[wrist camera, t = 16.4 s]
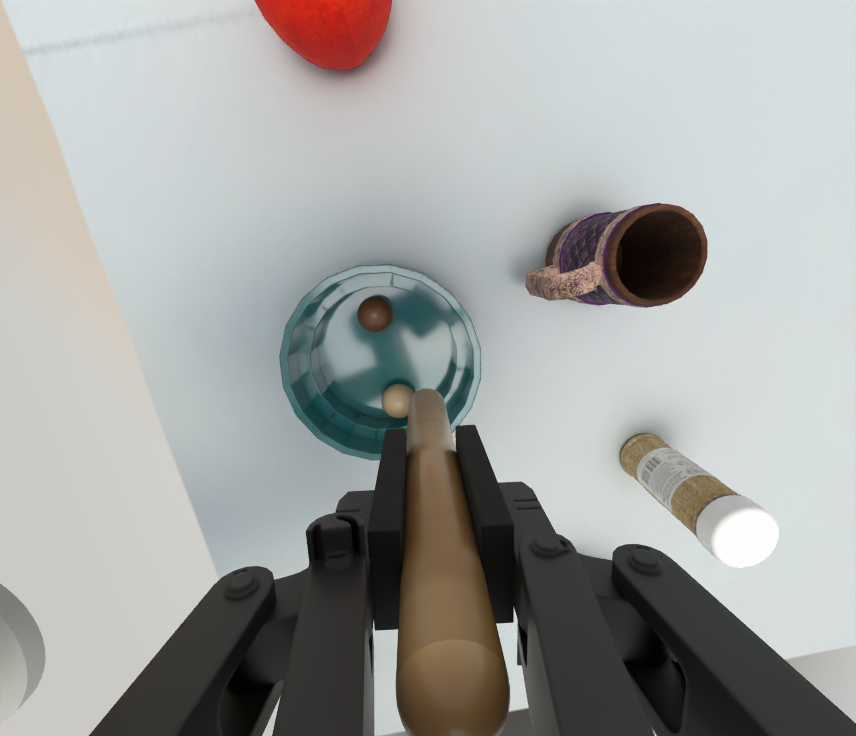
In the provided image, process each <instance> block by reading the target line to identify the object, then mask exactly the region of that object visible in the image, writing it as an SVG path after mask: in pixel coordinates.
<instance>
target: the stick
mask: <svg viewBox="0 0 856 736" xmlns="http://www.w3.org/2000/svg"><path fill="white" fill-rule="evenodd" d="M396 699H397V707H398V711H399V715H400V718H401V721H402V724H403V726H404V728H405V730H406V732H407V734H408V735H409V736H500V734H501V732H502V730H503V728H504V726H505V722H506V719H507V715H508V711H509V704H510V686H509V678H508V673H507V669H506V665H505V660H504V656H503V652H502V647H501V643H500V639H499V634H498V630H497V626H496V621H495V617H494V613H493V609H492V604H491V600H490V596H489V591H488V587H487V583H486V578H485V574H484V570H483V567H482V563H481V558H480V554H479V550H478V545H477V541H476V537H475V532H474V528H473V524H472V519H471V515H470V511H469V506H468V502H467V498H466V493H465V489H464V485H463V480H462V476H461V471H460V467H459V463H458V458H457V454H456V449H455V445H454V440H453V436H452V432H451V427H450V423H449V419H448V415H447V410H446V406H445V402H444V399H443V397H442V396H441V394H440V393H439V392H437V391H436V390H434V389H430V388H424V389H420V390H418V391H416V392H415V393H414V394H413V395H412V397H411V398H410V401H409V409H408V431H407V467H406V491H405V515H404V539H403V563H402V573H401V583H400V605H399V627H398V649H397V671H396Z"/></svg>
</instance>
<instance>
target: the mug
mask: <svg viewBox="0 0 856 736" xmlns="http://www.w3.org/2000/svg"><path fill="white" fill-rule="evenodd" d="M706 260H707V238H706V235H705V232H704V229H703V226H702V225H701V224H700V222H699V221H698V220H697V218H696V217H695V216H694V215H693V214H692V213H690V212H689V211H687V210H685V209H684V208H682V207H680V206H675V205H670V204H661V203H656V204H650V205H643V206H638V207H633V208H631V209H629V210H624V211H619V212H615V213H611V212H606V213H599V214H593V215H589V216H586V217H584V218H582V219H580V220H576V221H574V222H573V223H571V224H569V225H567V226H565V227H564V228H563V229H562V230H561V231H560V232H558V233H557V234H556V235H555V237H554V239H553V240H552V242H551V244H550V246H549V248H548V252H547V256H546V267H545V268H542V269H539V270H536V271H533V272H531V273H528V274H527V277H526V284H525V286H526V288H527V290H528V291H529V293H530V295H533V296H538V297H542V298H545V299H547V300H563V299H570V300H574V301H577V302H579V303H585V304H591V305H605V304H619V305H628V306H634V307H653V306H659V305H663V304H668V303H670V302H672V301H674V300H676V299H679V298H681V297H682V296H683V295H684V294H686V293H687V292H688V291H689V290H690V289H691V288H692V287H693V286H694V285H695V283H696V282H697V280H698V279H699V277H700V276H701V274H702V273H703V269H704V266H705V263H706Z"/></svg>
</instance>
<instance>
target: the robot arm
mask: <svg viewBox="0 0 856 736" xmlns="http://www.w3.org/2000/svg"><path fill="white" fill-rule="evenodd" d="M455 428H456V454H457V458H458V463H459V467H460V471H461V476H462V480H463V485H464V489H465V493H466V498H467V502H468V506H469V511H470V515H471V519H472V524H473V528H474V532H475V537H476V541H477V545H478V550H479V554H480V558H481V563H482V567H483V570H484V574H485V578H486V583H487V587H488V591H489V596H490V600H491V604H492V609H493V613H494V617H495V621H496V623H513V608H514V609H515V612H516V615H517V619H518V643H517V665H522V669H523V675H524V681H525V687H526V693H527V699H528V705H529V711H530V717H531V724H532V730H533V736H655V735H654V733H653V731H652V729H653V730H654V732H655V733H656V735H657V736H856V723H854V722H853V721H852V720H851V719H850V718H849V717H848V716H847V715H845V714H844V713H843V712H842V711H841V710H840V709H839V708H838V707H837V706H835V705H834V704H833V703H832V702H831V701H830V700H829V699H827V698H826V697H825V696H824V695H823V694H822V693H821V692H820V691H819V690H818V689H816V688H815V687H814V686H813V685H812V684H811V683H810V682H809V681H808V680H806V679H805V678H804V677H803V676H802V675H801V674H800V673H799V672H797V671H796V670H795V669H794V668H793V667H792V666H791V665H790V664H789V663H787V662H786V661H785V660H784V659H783V658H782V657H781V656H780V655H778V654H777V653H776V652H775V651H774V650H773V649H772V648H771V647H770V646H768V645H767V644H766V643H765V642H764V641H763V640H762V639H761V638H759V637H758V636H757V635H756V634H755V633H754V632H753V631H752V630H751V629H749V628H748V627H747V626H746V625H745V624H744V623H743V622H742V621H740V620H739V619H738V618H737V617H736V616H735V615H734V614H733V613H732V612H730V611H729V610H728V609H727V608H726V607H725V606H724V605H723V604H721V603H720V602H719V601H718V600H717V599H716V598H715V597H714V596H713V595H711V594H710V593H709V592H708V591H707V590H706V589H705V588H704V587H702V586H701V585H700V584H699V583H698V582H697V581H696V580H695V579H694V578H692V577H691V576H690V575H689V574H688V573H687V572H686V571H685V570H683V569H682V568H681V567H680V566H679V565H678V564H677V563H676V562H674V561H673V560H672V559H671V558H670V557H668V556H667V555H665V554H664V553H662V552H661V551H659V550H656V549H654V548H651V547H648V546H644V545H639V544H626V545H623V546H620V547H617V548H616V550H615V551H614V552H613V558H612V560H607V559H600V558H594V557H590V556H585V555H582V554H580V553H577V551H576V549H575V547H574V546H573V545H572V543H571V542H570V541H569V540H568V539H566V538H565V537H563V536H561V535H559V534H556V532H555V530H554V528H553V527H552V525H551V523H550V521H549V519H548V517H547V516H546V514H545V512H544V510H543V509H542V506H541V504H540V503H539V501H538V499H537V497H536V495H535V493H534V491H533V490H532V489H531V488H530V487H528V486H527V485H526V484H524V483H523V482H505V483H498V482H497V480H496V477H495V474H494V472H493V469H492V467H491V464H490V462H489V459H488V457H487V454H486V452H485V449H484V446H483V444H482V441H481V439H480V436H479V434H478V431H477V429H476V426H475V425H462V426H455ZM406 467H407V445H406V428H399V429H386V431H385V437H384V442H383V448H382V453H381V459H380V464H379V470H378V475H377V481H376V486H375V490H371V491H352V492H348V493H347V494H346V495H344V496H343V497H342V498H341V499H340V500H339V502H338V505H337V508H336V513H333V514H328V515H325V516H323V517H320V518H318V519H316V520H315V521H314V522H313V523H311V524H310V525H309V527H308V529H307V530H306V537H307V546H308V554H309V567H308V568H307V569H305V570H303V571H301V572H299V573H296V574H293V575H291V576H287V577H283V578H280V579H276V580H274V578H273V574H272V572H271V571H269V570H268V569H267V568H264V567H259V566H252V567H244V568H241V569H238V570H235V571H233V572H231V573H229V574H227V575H226V576H224V577H222V578H221V579H220V580H219V581H218V582H217V583H216V584H215V585H213V587H212V588H211V589H210V590H209V592H208V593H207V594H206V595H205V596H204V598H203V599H202V600H201V601H200V602H199V604H198V605H197V606H196V607H195V608H194V610H193V611H192V612H191V613H190V615H189V616H188V617H187V618H186V619H185V620H184V622H183V623H182V624H181V625H180V627H179V628H178V629H177V630H176V631H175V633H174V634H173V635H172V636H171V637H170V639H169V640H168V641H167V642H166V643H165V645H164V646H163V647H162V648H161V649H160V651H159V652H158V653H157V654H156V655H155V657H154V658H153V659H152V660H151V661H150V663H149V664H148V665H147V666H146V668H145V669H144V670H143V671H142V672H141V674H140V675H139V676H138V677H137V678H136V680H135V681H134V682H133V683H132V684H131V686H130V687H129V688H128V689H127V691H126V692H125V693H124V694H123V695H122V696H121V698H120V699H119V700H118V701H117V702H116V704H115V705H114V706H113V707H112V708H111V710H110V711H109V712H108V713H107V715H106V716H105V717H104V718H103V719H102V721H101V722H100V723H99V724H98V725H97V727H96V728H95V729H94V730H93V731H92V733H91V734H90V735H89V736H262V734H263V732H264V730H265V728H266V726H267V724H268V721H269V719H270V717H271V715H272V713H273V710H274V708H275V706H276V704H277V702H278V700H279V697H280V695H281V697H280V702H279V706H278V711H277V716H276V720H275V726H274V730H273V735H272V736H374V643H373V631H372V630H373V621H374V625H375V630H393V629H398V627H399V605H400V583H401V573H402V563H403V539H404V515H405V491H406ZM651 727H652V728H651Z"/></svg>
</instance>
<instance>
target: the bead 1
mask: <svg viewBox="0 0 856 736" xmlns="http://www.w3.org/2000/svg"><path fill="white" fill-rule="evenodd" d="M393 316H394V313H393V309H392V307H391V305H390V303H389V302H388V301H387V300H385V299H384V298H381V297H377V296H374V297H369V298H367V299H365V300H364V301H363V302H362V303H361V304H360V306H359V308H358V311H357V318H358V321H359V323H360V325H361V326H362V327H363V328H364V329H365V330H367V331H369V332H372V333H379V332H382V331H384V330H386V329H387V328H388V327H389V326H390V325H391V323H392V321H393Z"/></svg>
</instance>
